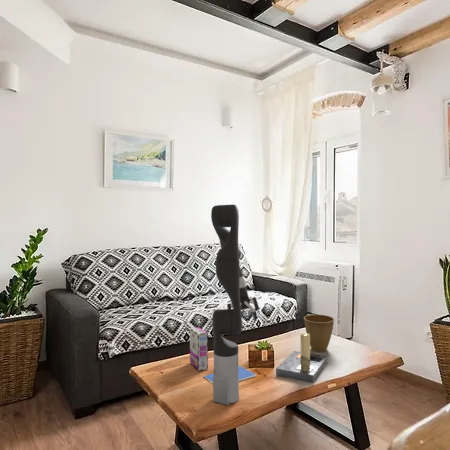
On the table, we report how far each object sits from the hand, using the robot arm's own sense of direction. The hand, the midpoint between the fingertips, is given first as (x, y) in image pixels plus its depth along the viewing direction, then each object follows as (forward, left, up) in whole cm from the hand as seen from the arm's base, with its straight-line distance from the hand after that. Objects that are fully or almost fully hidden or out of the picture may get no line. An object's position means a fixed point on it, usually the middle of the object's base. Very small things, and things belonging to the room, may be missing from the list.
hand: (246, 322), depth 175 cm
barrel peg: (0, -27, -16) cm, 31 cm away
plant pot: (+34, -24, -19) cm, 46 cm away
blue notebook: (-16, +1, -20) cm, 25 cm away
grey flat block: (+6, -24, -19) cm, 31 cm away
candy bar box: (-12, +19, -19) cm, 29 cm away
